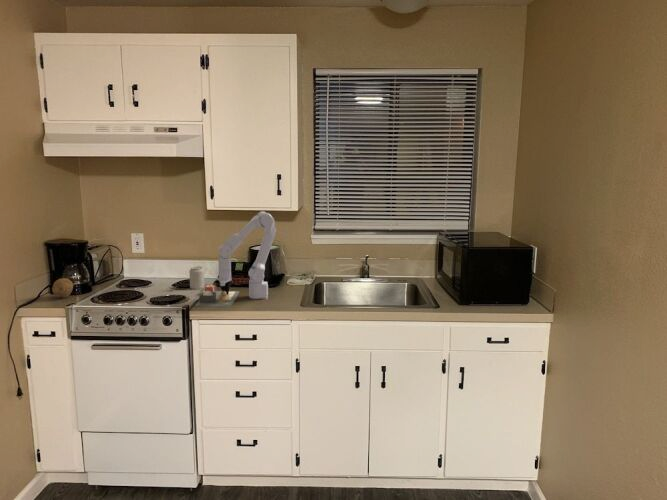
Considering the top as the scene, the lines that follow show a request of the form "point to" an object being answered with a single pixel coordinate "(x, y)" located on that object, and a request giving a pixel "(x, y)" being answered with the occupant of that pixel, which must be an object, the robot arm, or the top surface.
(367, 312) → the top surface
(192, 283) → the can
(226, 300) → the pawn
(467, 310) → the top surface
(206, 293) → the dome
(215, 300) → the board
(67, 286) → the natural sponge
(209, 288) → the die
